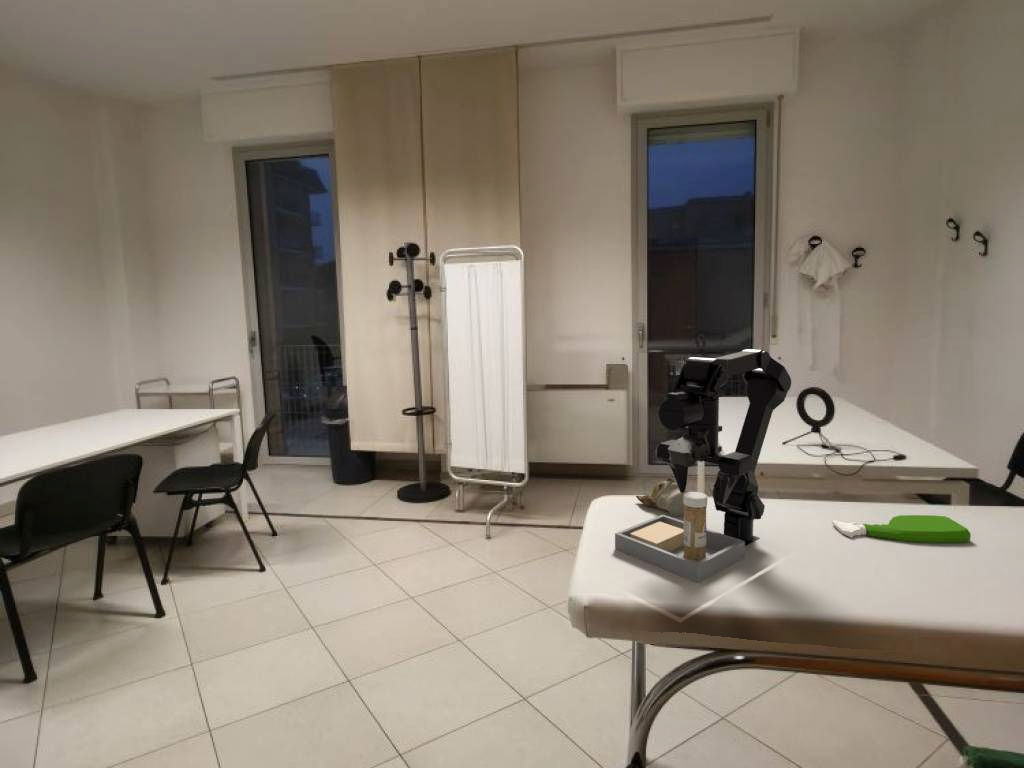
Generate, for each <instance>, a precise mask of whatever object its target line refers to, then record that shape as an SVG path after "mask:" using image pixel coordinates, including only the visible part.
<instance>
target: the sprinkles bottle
mask: <svg viewBox="0 0 1024 768" xmlns="http://www.w3.org/2000/svg"><path fill="white" fill-rule="evenodd" d="M683 503H684V516H683V521H684V537H683V542H684V554H683V558H685V559H688V560H691V561H693V562H696V563H697V562H699V561H701V560H703V559H705V558H706V529H707V508H708V507H707V506H708V495H707V494H705V493H704V492H698V491H689V492H687V493H685V494H684V495H683Z"/></svg>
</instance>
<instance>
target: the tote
mask: <svg viewBox="0 0 1024 768" xmlns="http://www.w3.org/2000/svg"><path fill="white" fill-rule="evenodd" d="M657 522H663V523H666V524H669V525H672V526H675V527H678V528H681V529H684V520H681V519H678V518H675V517H673V516H669V515H666V514H661V515H658V516H655V517H653V518H651V519H648V520H645V521H642V522H640V523H638V524H635V525H633V526H630V527H628V528H625V529H623V530H620V531H618V532H615V533H614V549H615V550H617V551H619V552H621V553H623V554H626V555H628V556H631V557H632V558H633V557H634V558H635V559H638V560H640V561H643V562H645V563H648V564H650V565H652V566H655V567H657V568H660V569H662V570H665V571H667V572H670V573H673V574H674V575H677V576H678V577H679V576H680V577H681V578H684V579H687V580H689V581H691V582H694V583H696V584H699V583H701V582H702V581H704V580H706V579H707V578H709V577H711V576H713V575H715V574H717V573H719V572H720V571H723V570H724V569H726V568H728V567H730V566H731V565H733V564H735V563H737V562H739V561H741V560H742V559H745V550H746V549H745V547H746V546H745V541H742V540H739V539H736V538H733V537H730V536H727V535H724V533H721V532H718V531H715V530H712V529H708V528H706V558H705V559H703V560H701V561H699V562H697V563H696V562H693V561H691V560H688V559H685V558H683V554H684V545H683V546H681V547H679V548H677V549H675V550H672V551H670V552H667V551H665V550H662V549H659V548H657V547H654V546H652V545H649V544H646V543H644V542H641V541H639V540H636V539H633V538H631V537H630V533H633V532H635V531H637V530H640V529H642V528H645V527H647V526H650V525H652V524H655V523H657Z"/></svg>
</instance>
